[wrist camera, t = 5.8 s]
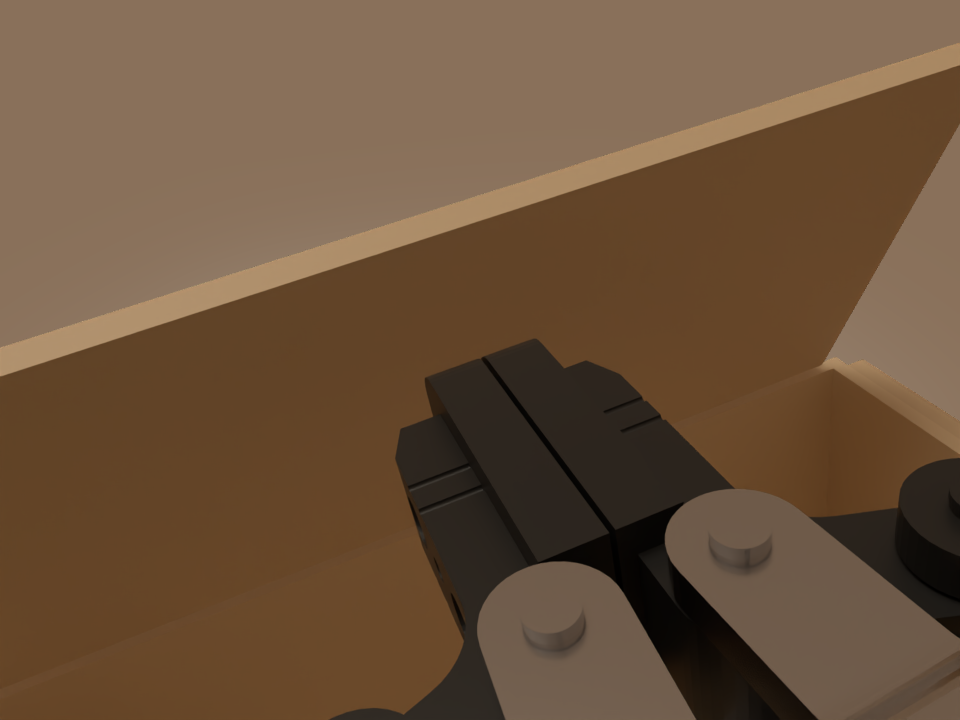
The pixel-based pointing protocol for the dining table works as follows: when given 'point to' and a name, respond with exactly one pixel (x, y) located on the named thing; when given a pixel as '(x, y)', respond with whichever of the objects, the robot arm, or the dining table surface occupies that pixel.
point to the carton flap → (431, 351)
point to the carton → (420, 601)
